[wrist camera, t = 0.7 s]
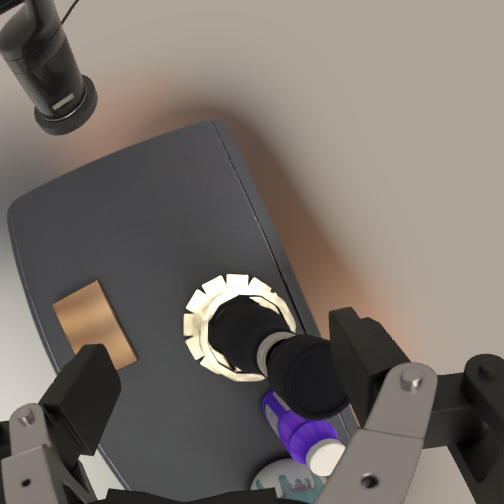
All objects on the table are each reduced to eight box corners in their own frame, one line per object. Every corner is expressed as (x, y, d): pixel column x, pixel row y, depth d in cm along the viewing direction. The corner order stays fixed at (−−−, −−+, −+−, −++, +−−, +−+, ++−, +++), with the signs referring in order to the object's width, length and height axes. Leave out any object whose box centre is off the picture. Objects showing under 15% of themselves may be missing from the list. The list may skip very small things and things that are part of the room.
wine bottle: (255, 350, 42) (371, 438, 13) (209, 346, 41) (246, 446, 12) (261, 305, 43) (391, 317, 14) (214, 299, 42) (263, 306, 13)
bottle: (307, 416, 42) (363, 466, 25) (274, 434, 41) (316, 495, 24) (288, 377, 43) (342, 418, 26) (253, 395, 41) (289, 449, 24)
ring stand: (165, 304, 41) (156, 306, 31) (255, 257, 44) (275, 244, 34) (215, 392, 40) (222, 420, 30) (301, 343, 44) (332, 355, 33)
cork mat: (55, 304, 38) (52, 304, 37) (99, 280, 40) (97, 280, 39) (93, 381, 37) (91, 382, 36) (138, 359, 39) (137, 360, 38)
